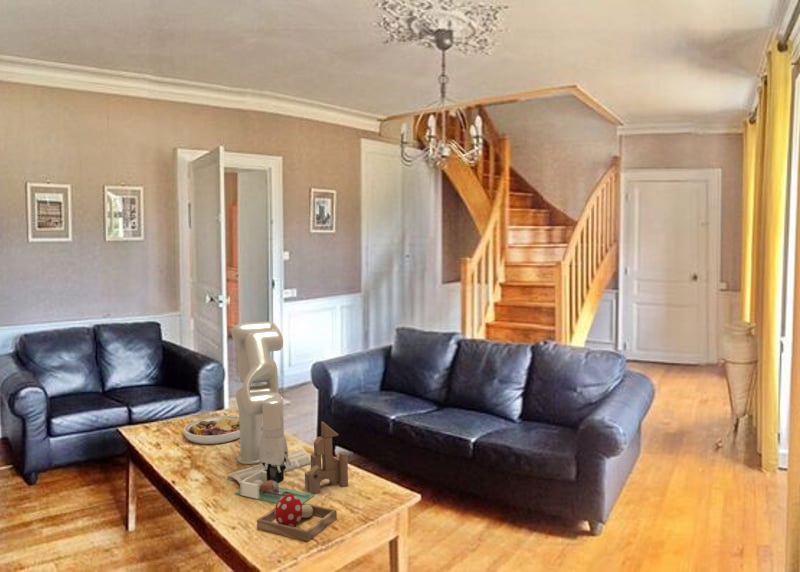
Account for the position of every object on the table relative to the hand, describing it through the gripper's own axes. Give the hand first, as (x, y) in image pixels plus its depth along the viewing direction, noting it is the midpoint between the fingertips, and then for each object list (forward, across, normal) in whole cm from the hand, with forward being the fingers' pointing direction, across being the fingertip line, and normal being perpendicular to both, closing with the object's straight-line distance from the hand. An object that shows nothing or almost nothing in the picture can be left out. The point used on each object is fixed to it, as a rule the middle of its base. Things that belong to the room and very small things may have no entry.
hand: (275, 480), depth 231 cm
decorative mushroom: (+6, +20, -15) cm, 26 cm away
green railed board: (+6, 0, 0) cm, 6 cm away
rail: (+6, +4, 0) cm, 7 cm away
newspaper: (+6, -16, +19) cm, 26 cm away
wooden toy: (+6, +14, +14) cm, 20 cm away
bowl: (+6, -68, +43) cm, 80 cm away
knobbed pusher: (+6, 0, 0) cm, 6 cm away
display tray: (+6, +20, -15) cm, 26 cm away
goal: (+6, -8, 0) cm, 9 cm away
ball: (+3, -8, 0) cm, 9 cm away
